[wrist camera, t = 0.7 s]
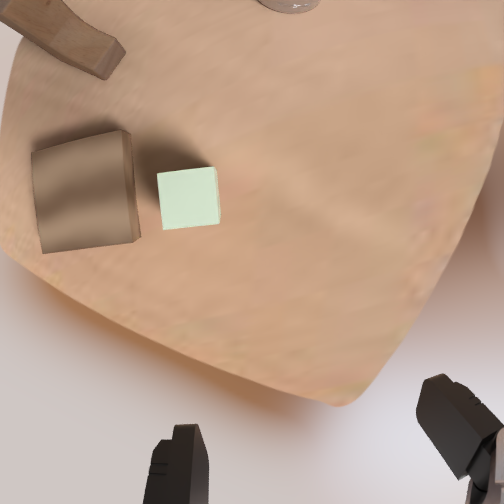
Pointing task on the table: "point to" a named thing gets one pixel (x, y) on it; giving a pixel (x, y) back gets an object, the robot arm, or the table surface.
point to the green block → (189, 198)
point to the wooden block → (63, 34)
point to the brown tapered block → (86, 193)
